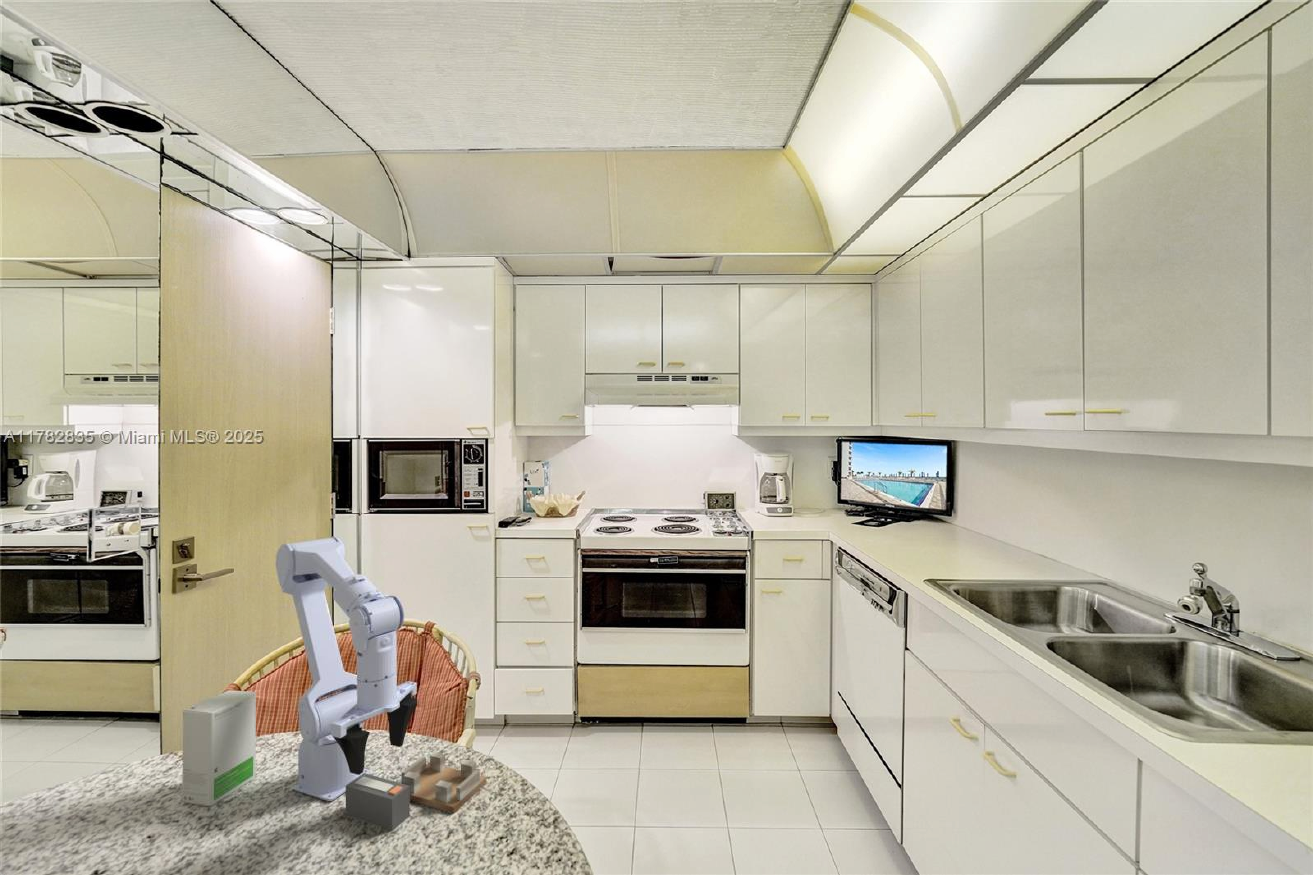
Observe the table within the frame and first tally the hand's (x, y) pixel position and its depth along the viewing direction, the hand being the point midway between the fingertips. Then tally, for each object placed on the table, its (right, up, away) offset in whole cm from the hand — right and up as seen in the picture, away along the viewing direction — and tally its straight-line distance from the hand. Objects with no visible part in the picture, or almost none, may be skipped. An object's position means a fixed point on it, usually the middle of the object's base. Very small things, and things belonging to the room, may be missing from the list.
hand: (377, 758), depth 83 cm
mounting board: (+8, -9, +6) cm, 14 cm away
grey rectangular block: (0, -9, 0) cm, 9 cm away
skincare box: (-32, -10, +7) cm, 34 cm away
